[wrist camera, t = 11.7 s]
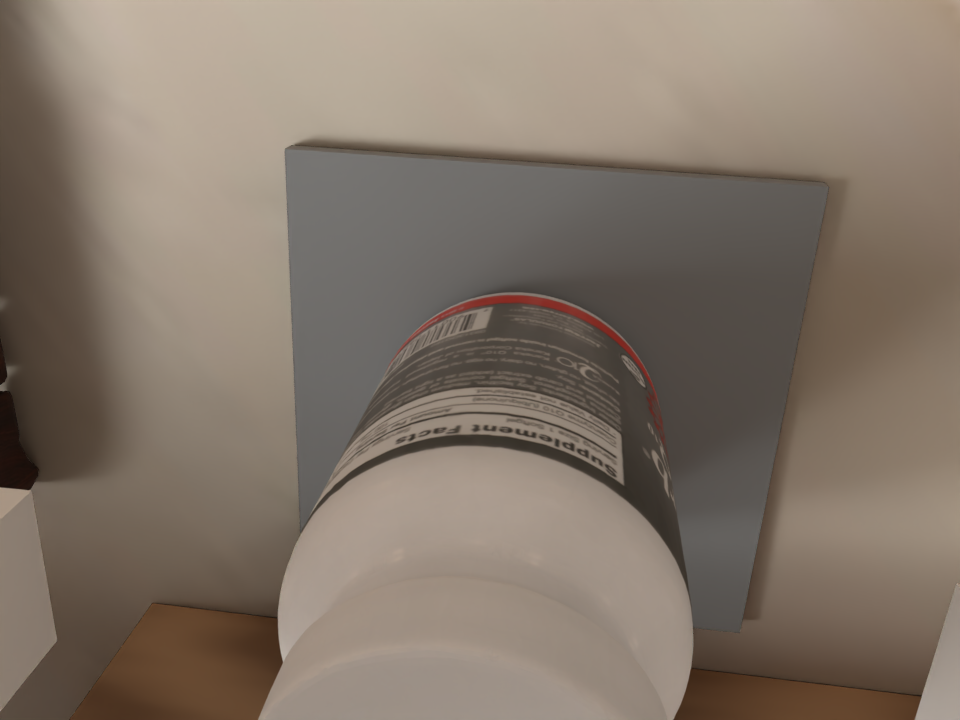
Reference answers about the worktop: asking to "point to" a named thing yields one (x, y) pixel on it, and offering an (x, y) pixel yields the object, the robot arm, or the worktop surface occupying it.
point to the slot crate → (257, 661)
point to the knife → (12, 443)
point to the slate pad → (578, 280)
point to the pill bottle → (494, 535)
